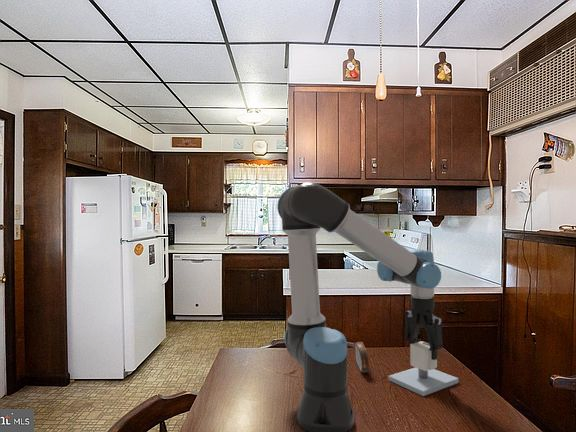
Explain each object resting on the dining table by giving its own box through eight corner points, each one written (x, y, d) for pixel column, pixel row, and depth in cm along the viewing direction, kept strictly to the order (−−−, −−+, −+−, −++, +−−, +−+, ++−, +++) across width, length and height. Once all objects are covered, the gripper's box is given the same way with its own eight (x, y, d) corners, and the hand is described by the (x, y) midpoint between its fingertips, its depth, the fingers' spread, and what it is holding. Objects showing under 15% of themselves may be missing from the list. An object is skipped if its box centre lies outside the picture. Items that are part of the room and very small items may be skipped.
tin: (369, 376, 131) (369, 352, 131) (360, 376, 131) (360, 352, 131) (362, 360, 146) (362, 338, 146) (354, 360, 146) (354, 338, 146)
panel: (423, 396, 116) (423, 374, 116) (388, 380, 127) (388, 360, 127) (458, 382, 125) (458, 363, 125) (423, 369, 137) (422, 351, 137)
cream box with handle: (425, 371, 122) (425, 348, 122) (410, 365, 127) (410, 343, 128) (437, 367, 126) (436, 345, 126) (422, 361, 131) (421, 340, 131)
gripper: (454, 299, 121) (456, 372, 120) (407, 291, 137) (408, 355, 136) (440, 302, 117) (441, 377, 116) (392, 293, 133) (393, 359, 132)
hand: (423, 365), depth 126 cm, fingers closed on cream box with handle, 6 cm apart
